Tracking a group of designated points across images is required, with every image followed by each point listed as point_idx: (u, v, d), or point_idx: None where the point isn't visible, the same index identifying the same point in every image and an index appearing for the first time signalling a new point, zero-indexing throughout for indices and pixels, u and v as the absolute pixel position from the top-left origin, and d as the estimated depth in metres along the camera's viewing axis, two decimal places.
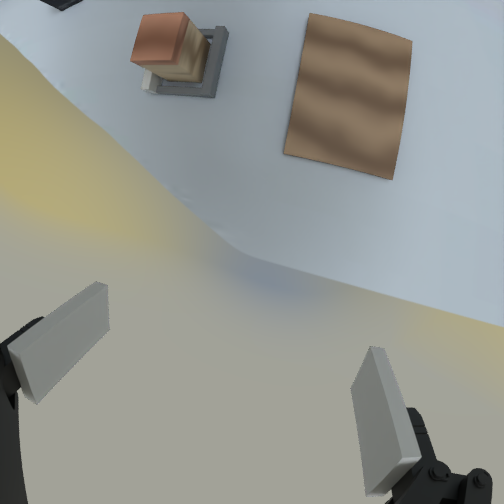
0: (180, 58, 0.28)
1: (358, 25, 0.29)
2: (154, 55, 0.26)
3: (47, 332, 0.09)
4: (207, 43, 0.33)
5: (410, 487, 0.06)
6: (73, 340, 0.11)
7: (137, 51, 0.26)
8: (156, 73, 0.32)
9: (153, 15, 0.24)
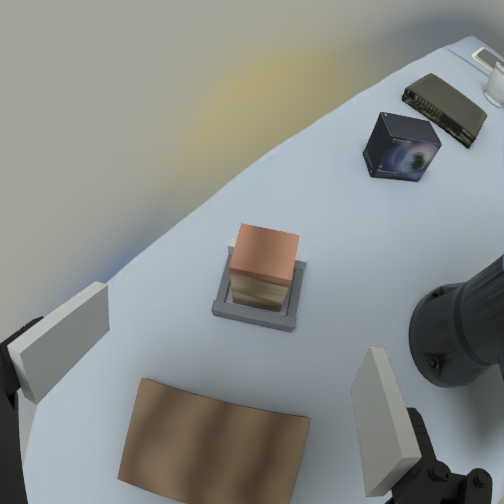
0: (238, 278, 0.31)
1: (295, 469, 0.28)
2: (239, 249, 0.30)
3: (47, 332, 0.09)
4: (277, 309, 0.37)
5: (410, 487, 0.06)
6: (73, 340, 0.11)
7: (250, 231, 0.31)
8: None
9: (295, 246, 0.30)
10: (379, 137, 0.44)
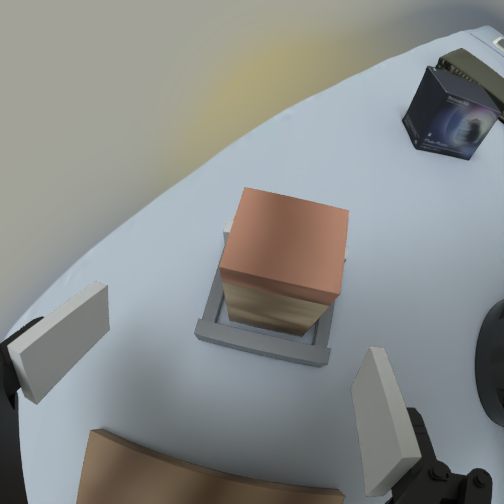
0: (237, 286, 0.17)
1: None
2: (240, 233, 0.16)
3: (47, 332, 0.09)
4: (300, 333, 0.23)
5: (410, 487, 0.06)
6: (73, 340, 0.11)
7: (261, 200, 0.17)
8: None
9: (344, 230, 0.16)
10: (428, 96, 0.29)
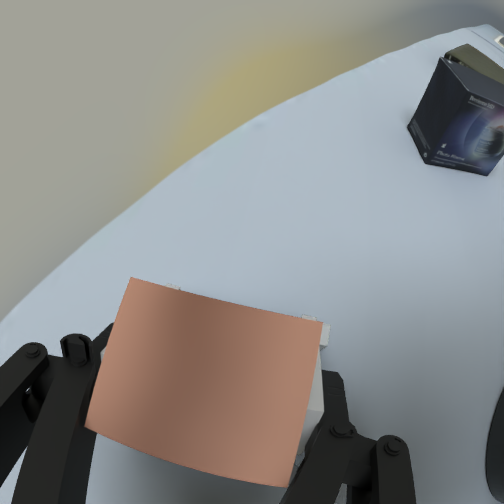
0: None
1: None
2: (116, 371, 0.08)
3: None
4: None
5: (312, 448, 0.07)
6: None
7: (156, 305, 0.09)
8: None
9: (310, 367, 0.08)
10: (442, 96, 0.22)
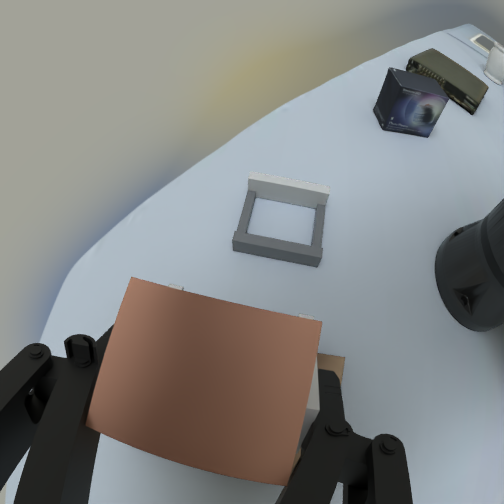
0: None
1: None
2: (116, 370, 0.08)
3: None
4: None
5: (308, 446, 0.07)
6: None
7: (156, 305, 0.09)
8: None
9: (309, 366, 0.08)
10: (389, 90, 0.42)
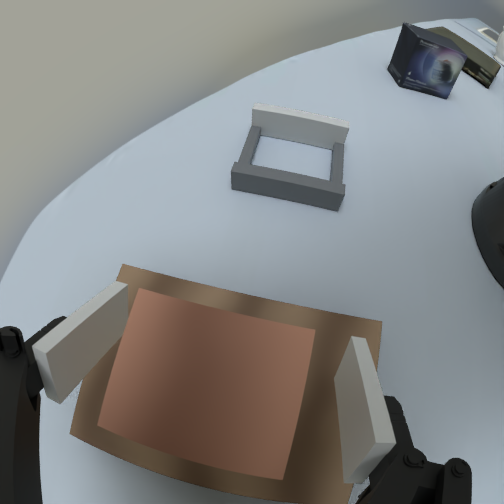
0: None
1: None
2: (126, 374, 0.09)
3: (72, 331, 0.10)
4: None
5: (385, 475, 0.06)
6: (95, 339, 0.12)
7: (163, 314, 0.10)
8: None
9: (303, 370, 0.09)
10: (405, 44, 0.34)
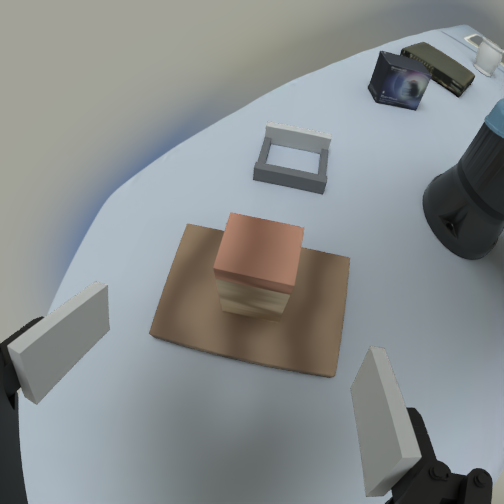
0: (226, 282, 0.24)
1: (342, 308, 0.32)
2: (227, 245, 0.23)
3: (47, 332, 0.09)
4: (276, 319, 0.31)
5: (410, 487, 0.06)
6: (73, 340, 0.11)
7: (242, 221, 0.24)
8: None
9: (300, 242, 0.23)
10: (381, 68, 0.49)
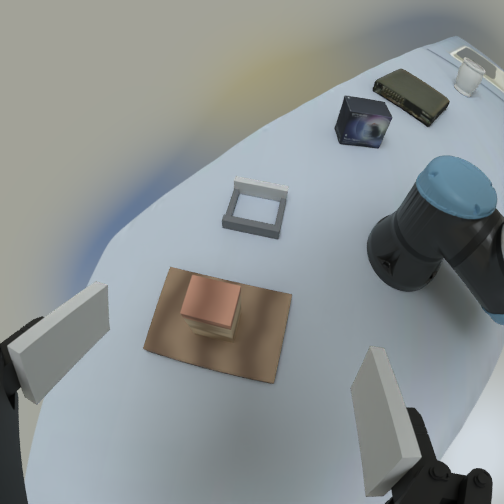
0: (190, 320, 0.36)
1: (281, 333, 0.44)
2: (189, 298, 0.35)
3: (47, 332, 0.09)
4: (231, 341, 0.43)
5: (410, 487, 0.06)
6: (73, 340, 0.11)
7: (199, 281, 0.36)
8: None
9: (236, 296, 0.36)
10: (344, 113, 0.61)
